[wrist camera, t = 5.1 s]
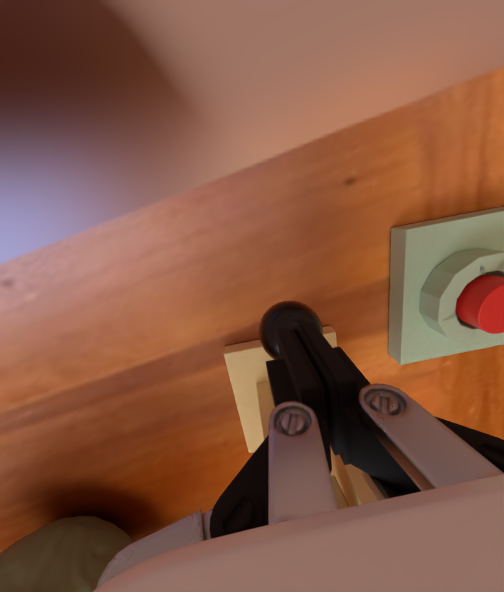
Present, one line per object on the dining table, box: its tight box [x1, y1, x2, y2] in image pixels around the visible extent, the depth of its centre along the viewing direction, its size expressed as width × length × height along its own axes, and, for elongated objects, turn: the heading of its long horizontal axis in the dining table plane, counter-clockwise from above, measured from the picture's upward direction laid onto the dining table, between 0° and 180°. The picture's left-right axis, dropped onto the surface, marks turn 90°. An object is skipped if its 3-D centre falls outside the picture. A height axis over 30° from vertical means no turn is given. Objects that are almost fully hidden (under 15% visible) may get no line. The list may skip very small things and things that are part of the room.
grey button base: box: [388, 206, 504, 365], centre depth 18 cm, size 11×9×4 cm
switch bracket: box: [224, 326, 378, 507], centre depth 16 cm, size 11×9×12 cm
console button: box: [455, 274, 504, 334], centre depth 16 cm, size 4×4×2 cm
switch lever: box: [259, 301, 349, 509], centre depth 12 cm, size 13×3×3 cm, turn 10°
